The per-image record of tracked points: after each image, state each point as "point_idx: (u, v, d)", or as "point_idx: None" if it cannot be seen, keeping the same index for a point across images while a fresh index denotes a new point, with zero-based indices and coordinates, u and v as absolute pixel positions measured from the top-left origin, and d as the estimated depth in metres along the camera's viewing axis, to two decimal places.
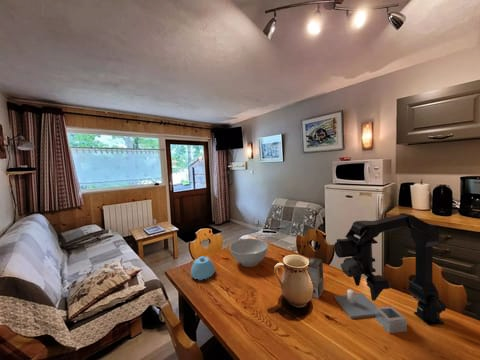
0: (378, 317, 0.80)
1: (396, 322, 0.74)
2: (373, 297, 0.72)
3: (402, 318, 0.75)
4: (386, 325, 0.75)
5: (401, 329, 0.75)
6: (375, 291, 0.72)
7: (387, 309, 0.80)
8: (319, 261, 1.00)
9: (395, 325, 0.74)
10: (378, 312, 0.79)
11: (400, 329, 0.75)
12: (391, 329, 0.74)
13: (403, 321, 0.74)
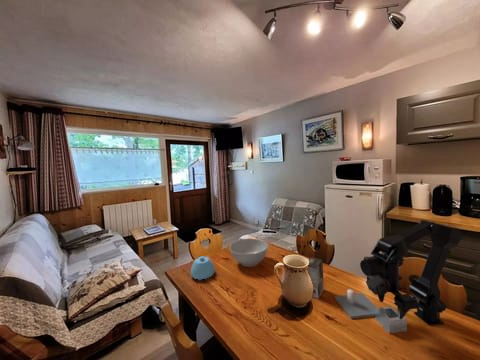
0: (378, 317, 0.80)
1: (396, 322, 0.74)
2: (400, 315, 0.72)
3: None
4: (386, 325, 0.75)
5: (401, 329, 0.75)
6: (403, 310, 0.72)
7: (387, 309, 0.80)
8: (319, 261, 1.00)
9: (395, 325, 0.74)
10: (378, 312, 0.79)
11: (400, 329, 0.75)
12: (391, 329, 0.74)
13: (403, 321, 0.74)
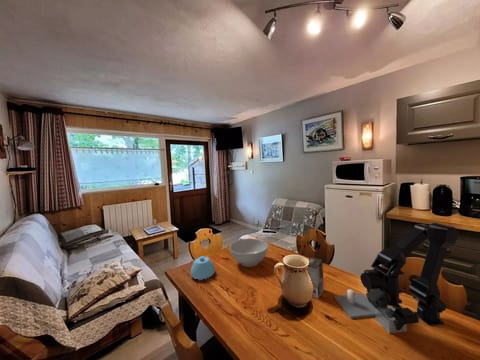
0: (378, 317, 0.80)
1: None
2: (398, 327, 0.74)
3: None
4: (386, 325, 0.75)
5: (401, 329, 0.75)
6: (400, 321, 0.73)
7: (387, 309, 0.80)
8: (319, 261, 1.00)
9: (395, 325, 0.74)
10: (378, 312, 0.79)
11: None
12: (391, 329, 0.74)
13: None
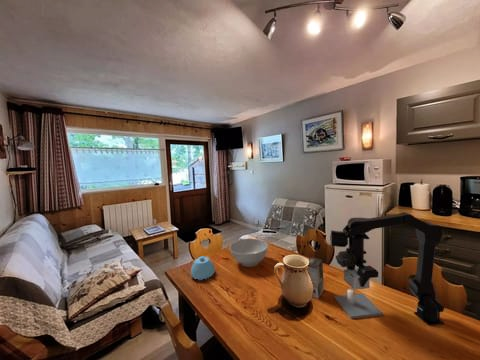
0: (346, 277, 0.88)
1: None
2: (362, 284, 0.82)
3: None
4: (352, 283, 0.84)
5: (364, 286, 0.83)
6: (364, 278, 0.82)
7: (354, 271, 0.89)
8: (319, 261, 1.00)
9: None
10: (346, 273, 0.88)
11: (364, 286, 0.83)
12: (356, 286, 0.83)
13: None
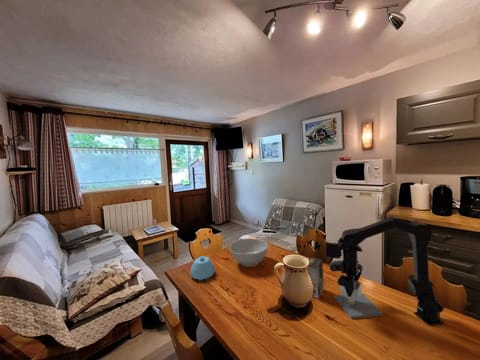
0: None
1: None
2: (347, 293, 0.87)
3: (354, 288, 0.86)
4: None
5: (352, 297, 0.86)
6: (348, 288, 0.86)
7: None
8: (319, 261, 1.00)
9: None
10: None
11: (351, 297, 0.86)
12: (342, 293, 0.89)
13: (354, 291, 0.85)
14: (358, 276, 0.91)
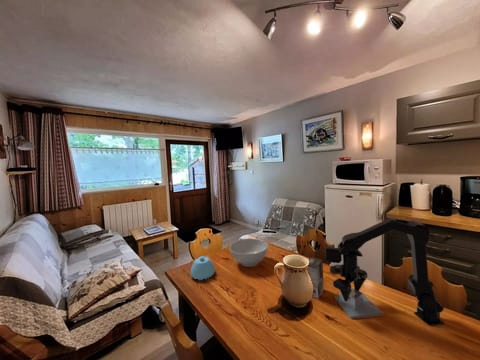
0: None
1: None
2: (343, 297, 0.87)
3: (352, 297, 0.86)
4: None
5: (350, 305, 0.87)
6: (344, 292, 0.86)
7: (355, 292, 0.90)
8: (319, 261, 1.00)
9: None
10: None
11: (349, 305, 0.87)
12: (341, 300, 0.90)
13: (352, 300, 0.86)
14: (361, 281, 0.90)
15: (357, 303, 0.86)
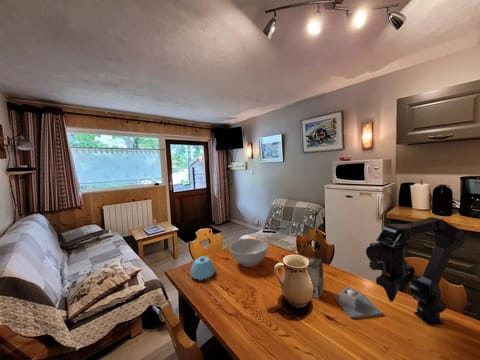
0: None
1: (345, 297, 0.88)
2: (388, 297, 0.75)
3: (352, 297, 0.86)
4: None
5: (350, 305, 0.87)
6: (389, 291, 0.74)
7: (355, 292, 0.90)
8: (319, 261, 1.00)
9: (345, 299, 0.89)
10: None
11: (349, 305, 0.87)
12: (341, 300, 0.90)
13: (352, 300, 0.86)
14: (408, 278, 0.77)
15: (357, 303, 0.86)
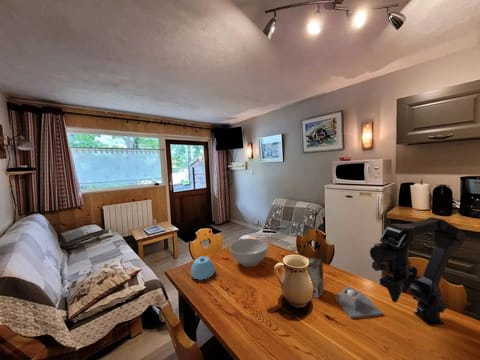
0: None
1: (345, 297, 0.88)
2: (392, 297, 0.74)
3: (352, 297, 0.86)
4: None
5: (350, 305, 0.87)
6: (392, 292, 0.73)
7: (355, 292, 0.90)
8: (319, 261, 1.00)
9: (345, 299, 0.89)
10: None
11: (349, 305, 0.87)
12: (341, 300, 0.90)
13: (352, 300, 0.86)
14: (411, 279, 0.77)
15: (357, 303, 0.86)
